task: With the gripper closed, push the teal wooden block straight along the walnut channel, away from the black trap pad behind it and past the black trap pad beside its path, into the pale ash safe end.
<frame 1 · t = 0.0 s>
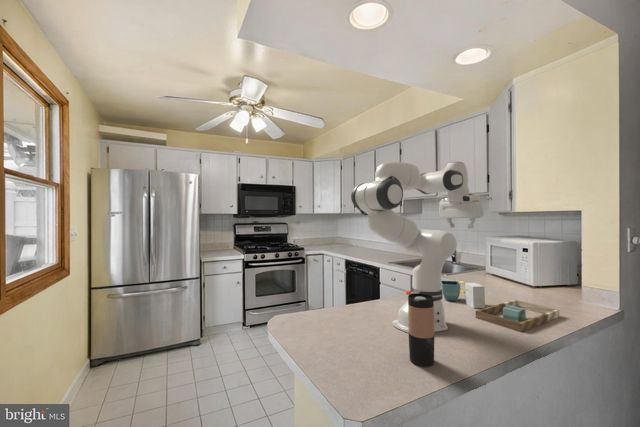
hand: (461, 227, 133), 39 cm above the counter, tool pointing down, fingers open, 8 cm apart
teal block: (514, 318, 125), resting in trap channel
travel mug: (421, 361, 90), on the counter
watch: (462, 292, 168), on the counter
small box: (475, 306, 142), on the counter
trap channel: (518, 317, 126), on the counter
flower pot: (450, 300, 153), on the counter
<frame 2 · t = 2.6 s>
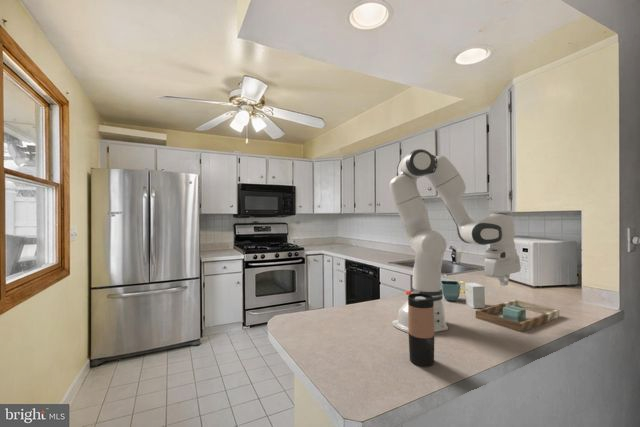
hand: (504, 285, 121), 15 cm above the counter, tool pointing down, fingers closed
nothing on the counter moved.
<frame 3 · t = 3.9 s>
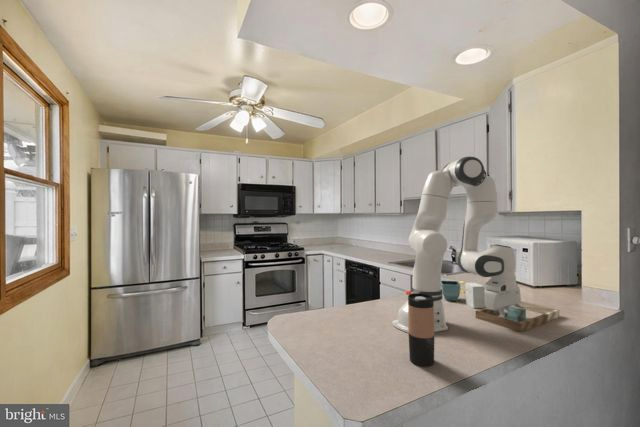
hand: (503, 316, 121), 2 cm above the counter, tool pointing down, fingers closed
nothing on the counter moved.
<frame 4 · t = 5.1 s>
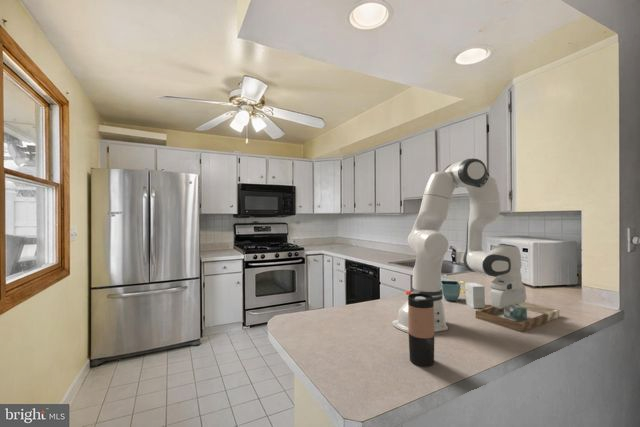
hand: (509, 315, 123), 2 cm above the counter, tool pointing down, fingers closed
teal block: (515, 318, 125), resting in trap channel, touching gripper
everything else where it was.
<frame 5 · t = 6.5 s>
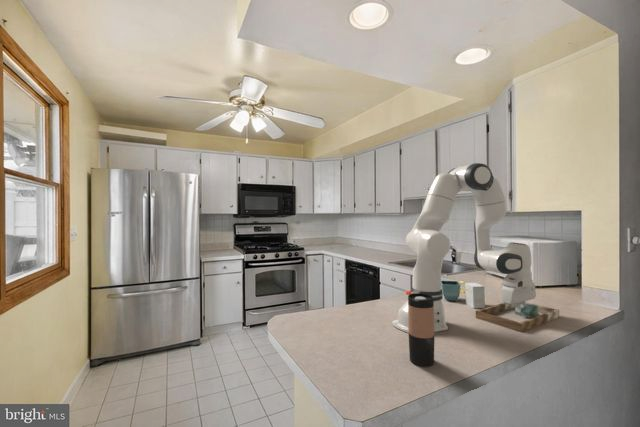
hand: (520, 311, 127), 2 cm above the counter, tool pointing down, fingers closed
teal block: (526, 314, 129), resting in trap channel, touching gripper
everything else where it was.
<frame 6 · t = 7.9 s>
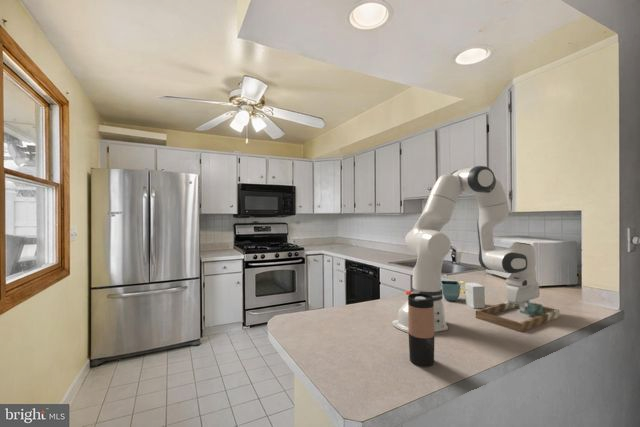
hand: (524, 310, 129), 2 cm above the counter, tool pointing down, fingers closed
teal block: (531, 313, 131), resting in trap channel
everything else where it was.
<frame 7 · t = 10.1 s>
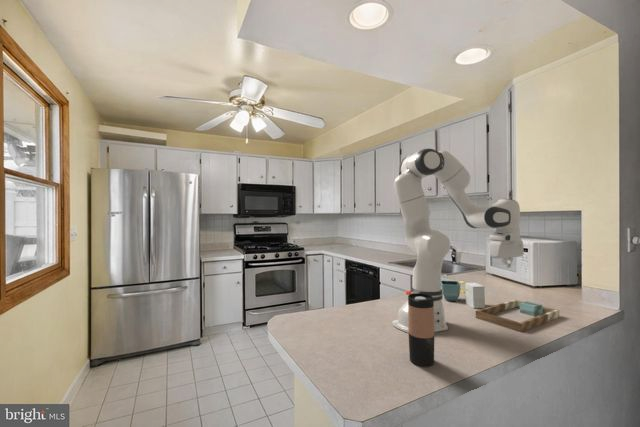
hand: (507, 267, 128), 21 cm above the counter, tool pointing down, fingers closed
nothing on the counter moved.
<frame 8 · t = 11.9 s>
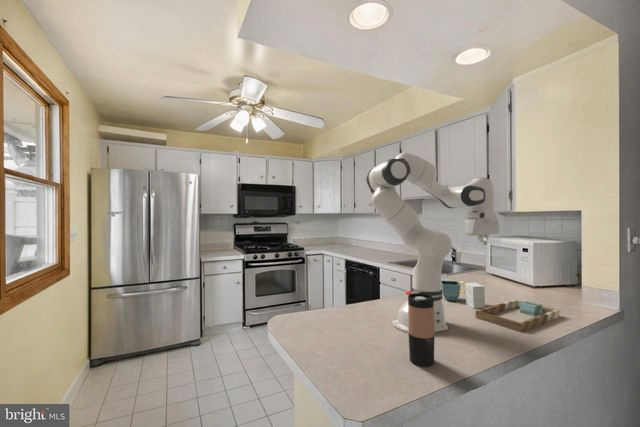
hand: (483, 244, 131), 31 cm above the counter, tool pointing down, fingers closed
nothing on the counter moved.
at the end: teal block 0.6 cm from the target spot on the trap channel, point 0.0 cm above the trap channel's base; teal block tilted 0° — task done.
